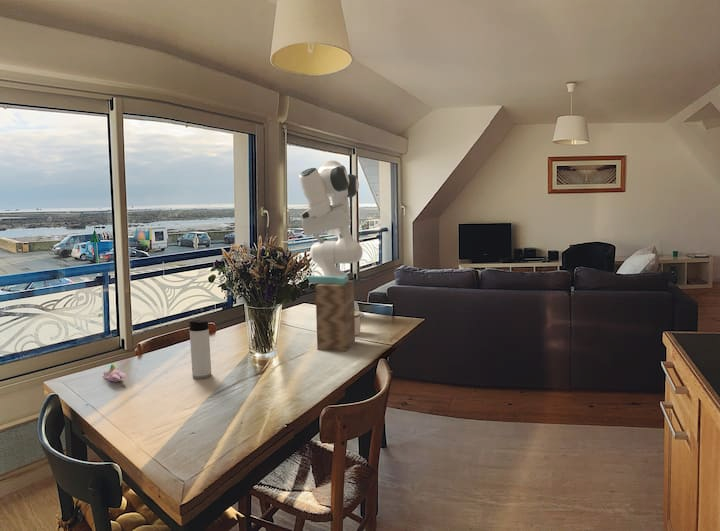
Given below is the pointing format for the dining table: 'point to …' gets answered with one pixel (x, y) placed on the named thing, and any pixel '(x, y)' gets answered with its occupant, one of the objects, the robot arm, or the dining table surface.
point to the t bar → (328, 279)
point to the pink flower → (114, 374)
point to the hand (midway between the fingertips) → (332, 240)
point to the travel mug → (200, 349)
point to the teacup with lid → (357, 322)
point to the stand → (335, 316)
